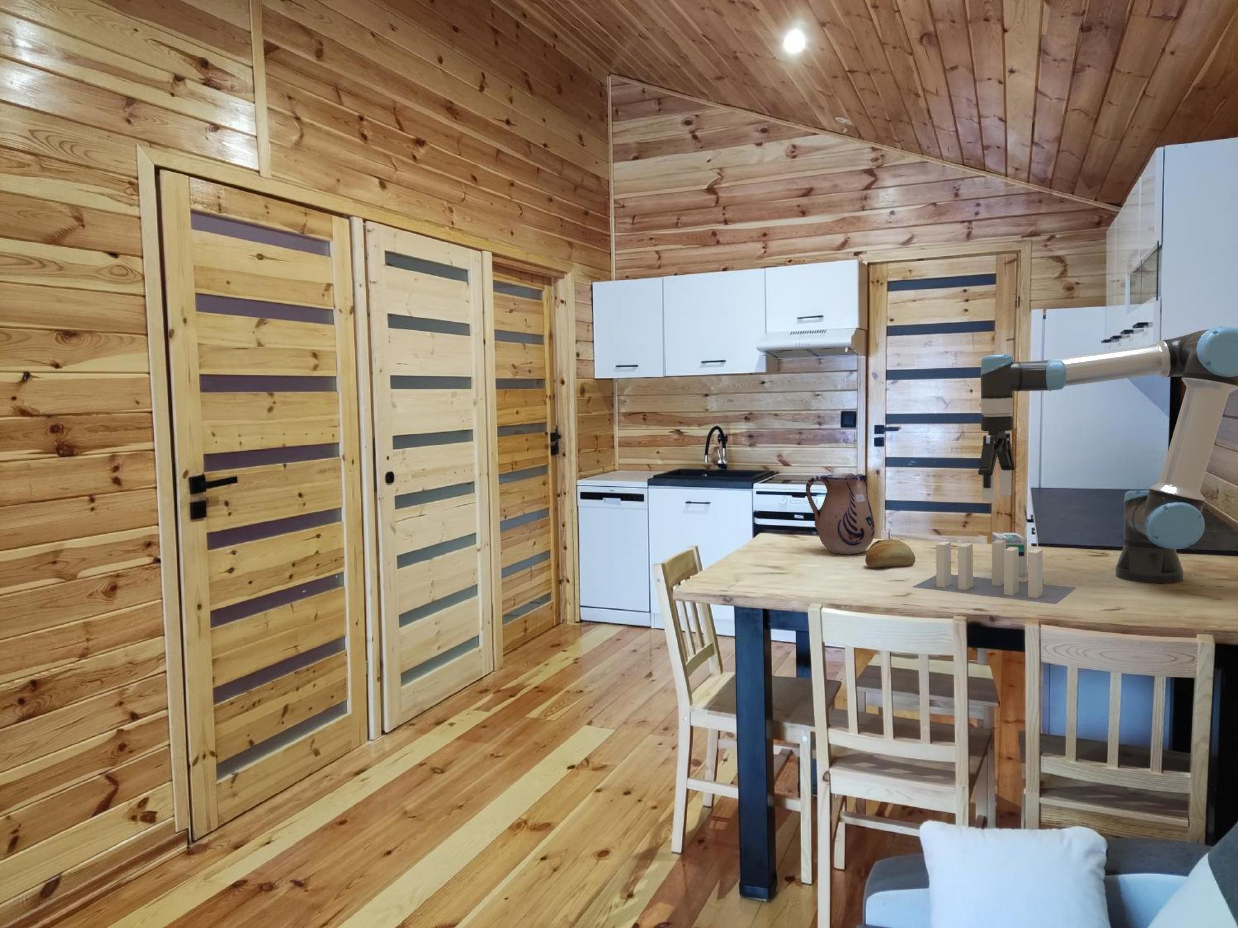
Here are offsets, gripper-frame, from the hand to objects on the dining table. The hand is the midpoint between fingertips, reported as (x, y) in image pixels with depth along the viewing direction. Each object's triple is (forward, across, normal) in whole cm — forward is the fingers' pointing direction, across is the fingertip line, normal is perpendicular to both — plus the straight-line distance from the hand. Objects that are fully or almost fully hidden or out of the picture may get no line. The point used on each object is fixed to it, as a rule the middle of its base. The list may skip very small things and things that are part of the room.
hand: (997, 498), depth 219 cm
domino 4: (+22, +9, +6) cm, 25 cm away
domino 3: (+22, 0, +1) cm, 22 cm away
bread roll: (+23, -8, -33) cm, 41 cm away
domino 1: (+22, +10, -10) cm, 26 cm away
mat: (+23, +6, +1) cm, 23 cm away
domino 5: (+22, +9, +12) cm, 27 cm away
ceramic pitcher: (+23, -22, -55) cm, 63 cm away
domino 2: (+22, +10, -5) cm, 25 cm away
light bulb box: (+23, -15, -2) cm, 28 cm away
